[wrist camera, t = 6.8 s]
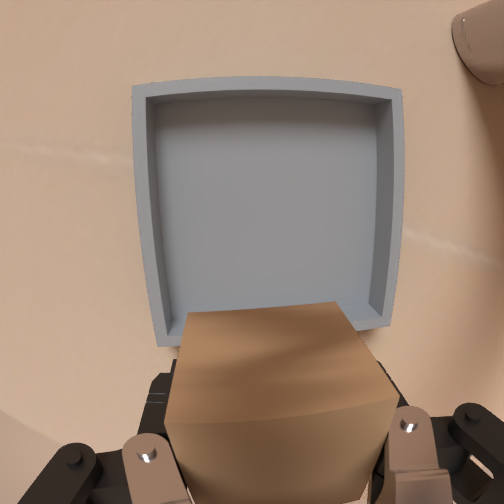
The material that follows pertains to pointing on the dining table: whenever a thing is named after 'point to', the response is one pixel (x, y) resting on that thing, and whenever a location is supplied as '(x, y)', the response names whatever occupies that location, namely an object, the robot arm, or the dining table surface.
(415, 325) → the dining table surface
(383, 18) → the dining table surface
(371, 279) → the tray
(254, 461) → the walnut block
